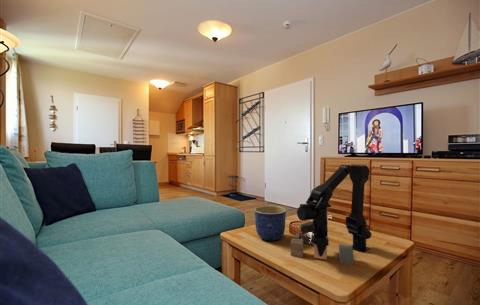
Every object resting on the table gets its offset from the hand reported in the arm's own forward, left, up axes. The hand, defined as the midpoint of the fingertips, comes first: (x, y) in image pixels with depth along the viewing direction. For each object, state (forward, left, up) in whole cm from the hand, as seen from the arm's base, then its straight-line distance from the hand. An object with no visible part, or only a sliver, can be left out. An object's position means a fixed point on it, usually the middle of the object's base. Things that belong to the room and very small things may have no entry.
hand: (320, 253), depth 100 cm
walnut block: (+5, -9, -2) cm, 10 cm away
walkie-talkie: (-10, -16, -2) cm, 19 cm away
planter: (0, -30, -2) cm, 30 cm away
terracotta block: (0, 0, -1) cm, 1 cm away
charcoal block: (-5, +9, -2) cm, 10 cm away
